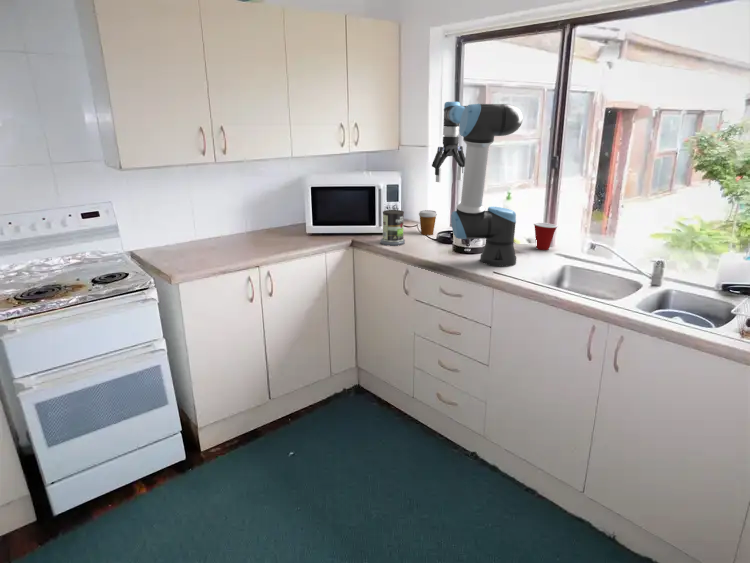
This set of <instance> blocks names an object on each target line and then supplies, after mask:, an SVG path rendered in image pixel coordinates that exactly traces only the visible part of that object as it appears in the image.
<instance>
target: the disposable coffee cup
mask: <svg viewBox="0 0 750 563" xmlns="http://www.w3.org/2000/svg"><path fill="white" fill-rule="evenodd" d="M418 215H419V222H420V223H419V224H420V233H421V234H420V235H422V236H433V235H434V231H435V226H436V225H435V224H436V220H437V215H438V214H437V211H436V210H433V209H432V210H431V209H430V210H428V209H427V210H426V209H425V210H420V211H419V212H418Z"/></svg>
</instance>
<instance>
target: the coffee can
mask: <svg viewBox="0 0 750 563" xmlns="http://www.w3.org/2000/svg"><path fill="white" fill-rule="evenodd" d="M404 214H405V211H403V210H400V209H399V210H398V209H387V210H386V209H385V210H382V238H383V241H386V242H400V241H403V239H404V220H405V219H404Z"/></svg>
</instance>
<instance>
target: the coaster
mask: <svg viewBox="0 0 750 563" xmlns="http://www.w3.org/2000/svg"><path fill="white" fill-rule="evenodd" d="M405 242H406V239H404V238H403V241H400V242H386V241H383V237H382V238H380V245H383V244H384V246H387V245H390V246H389V247H398V245H399V246H403V245H404V244H405Z"/></svg>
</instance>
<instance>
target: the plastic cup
mask: <svg viewBox="0 0 750 563" xmlns="http://www.w3.org/2000/svg"><path fill="white" fill-rule="evenodd" d="M533 225H534V233H535V234H534V237H535V238H536V239H535V238H534V239H535V241H536V240H537V246H536V245H535V247H536V248H537V249H536V248H535V249H536V250H539V251H548V250H549V249H550V247H551V244H552V241H553V238H554V234H555V232H556V229H557V228H558V225H557V224H554V223H553V224H552V223H549V222H548V223H547V222H533Z"/></svg>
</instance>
